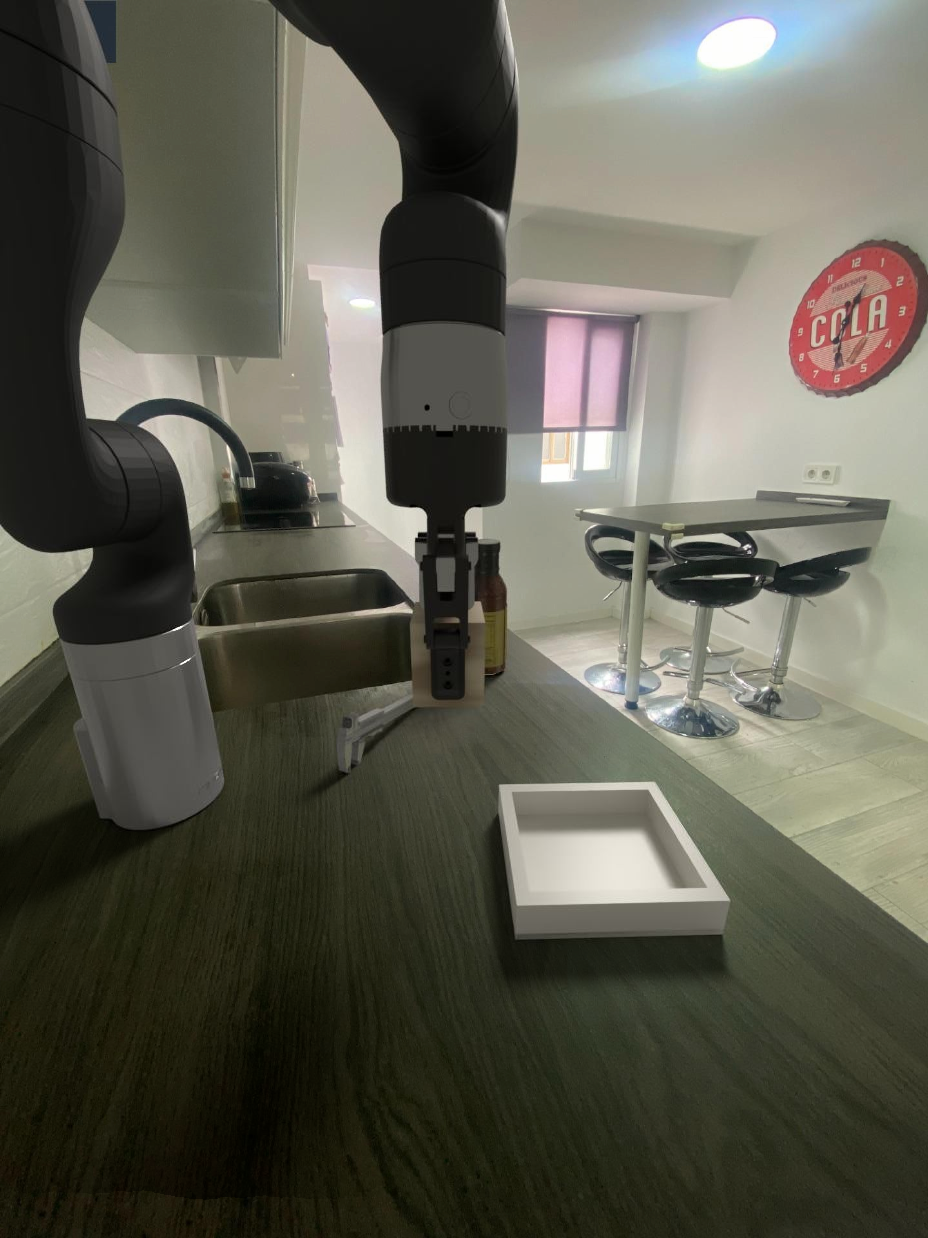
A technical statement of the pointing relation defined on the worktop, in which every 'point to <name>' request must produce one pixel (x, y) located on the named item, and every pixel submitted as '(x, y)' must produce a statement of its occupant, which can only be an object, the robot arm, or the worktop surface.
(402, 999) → the worktop surface
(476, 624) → the block
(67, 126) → the robot arm
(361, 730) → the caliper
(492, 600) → the sauce bottle
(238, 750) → the worktop surface
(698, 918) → the tray
